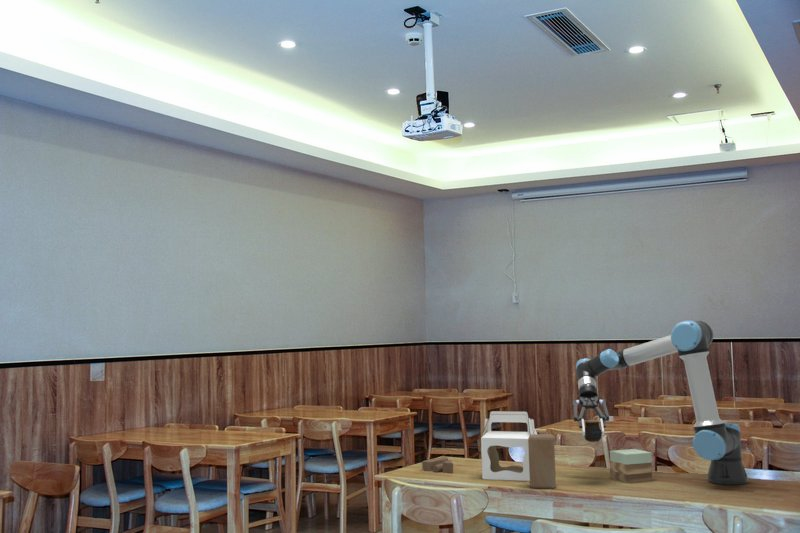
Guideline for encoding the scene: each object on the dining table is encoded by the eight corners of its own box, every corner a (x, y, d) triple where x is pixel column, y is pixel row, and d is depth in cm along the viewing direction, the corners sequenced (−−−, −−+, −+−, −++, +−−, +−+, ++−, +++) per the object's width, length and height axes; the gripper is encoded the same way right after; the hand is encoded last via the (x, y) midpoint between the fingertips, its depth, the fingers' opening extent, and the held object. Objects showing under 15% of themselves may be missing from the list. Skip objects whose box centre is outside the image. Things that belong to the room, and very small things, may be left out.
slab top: (652, 462, 334) (651, 452, 334) (626, 464, 330) (625, 454, 330) (635, 458, 345) (634, 448, 345) (610, 460, 341) (609, 450, 342)
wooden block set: (420, 459, 374) (443, 454, 389) (420, 471, 374) (443, 466, 388) (451, 461, 364) (473, 456, 378) (451, 474, 364) (473, 469, 378)
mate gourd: (599, 442, 328) (597, 417, 329) (581, 442, 331) (579, 417, 332) (604, 440, 334) (602, 415, 335) (586, 439, 338) (584, 415, 338)
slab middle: (652, 472, 334) (651, 462, 334) (627, 474, 330) (626, 464, 330) (635, 468, 345) (634, 458, 345) (610, 470, 341) (609, 460, 341)
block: (555, 488, 322) (553, 437, 323) (529, 488, 324) (527, 437, 325) (556, 484, 331) (553, 434, 333) (531, 483, 333) (529, 434, 335)
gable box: (481, 479, 348) (479, 412, 350) (490, 474, 360) (487, 409, 362) (533, 481, 339) (530, 413, 342) (540, 476, 351) (537, 410, 354)
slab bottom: (652, 482, 333) (651, 472, 333) (626, 484, 330) (626, 474, 330) (635, 477, 344) (635, 468, 345) (610, 480, 341) (610, 470, 341)
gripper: (611, 395, 348) (618, 439, 331) (563, 396, 351) (568, 439, 333) (611, 383, 343) (619, 427, 326) (564, 384, 346) (568, 428, 328)
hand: (593, 433), depth 329 cm, fingers closed on mate gourd, 7 cm apart
